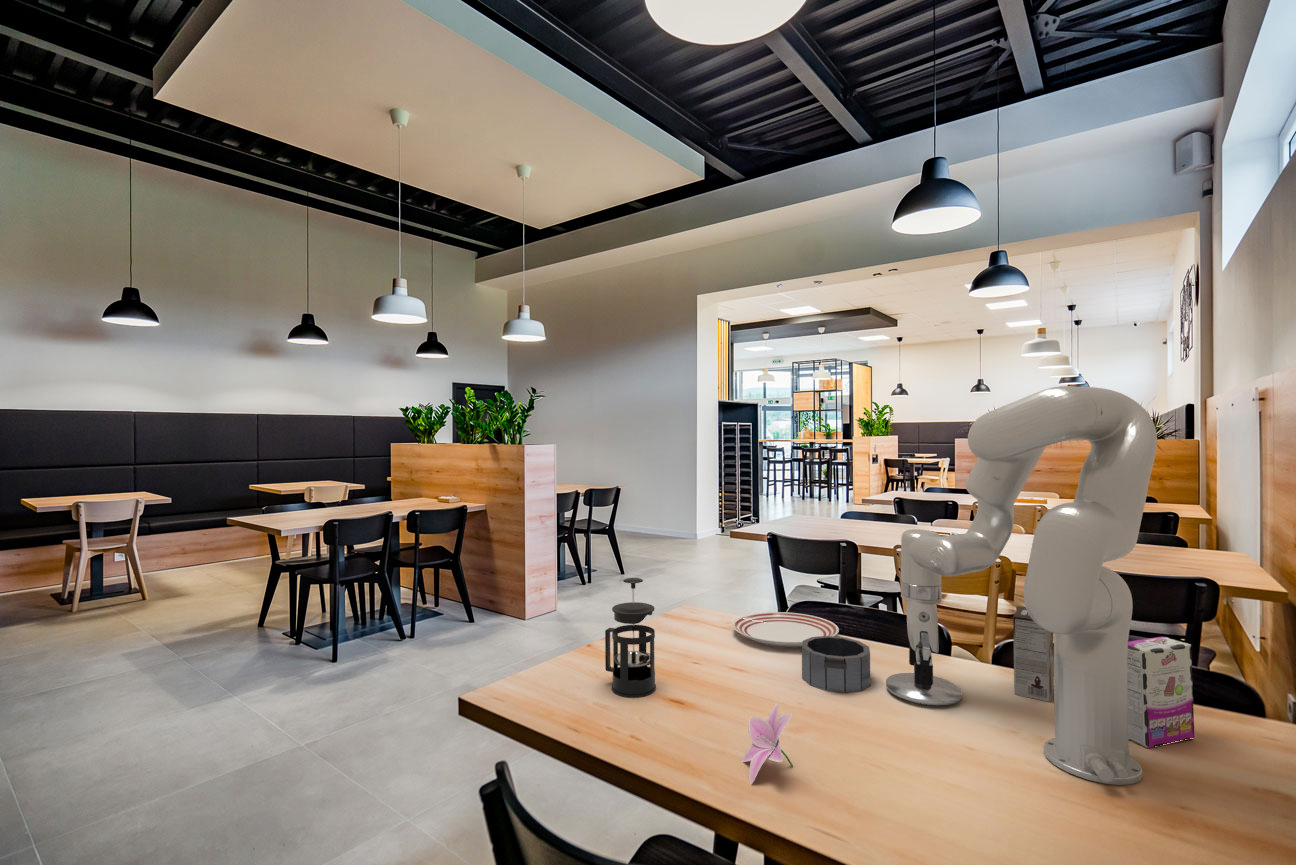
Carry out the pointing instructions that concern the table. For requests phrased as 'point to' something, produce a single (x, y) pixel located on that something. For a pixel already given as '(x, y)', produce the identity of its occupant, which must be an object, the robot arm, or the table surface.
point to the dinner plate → (783, 628)
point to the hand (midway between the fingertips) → (920, 674)
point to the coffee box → (1032, 658)
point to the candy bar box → (1159, 691)
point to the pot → (836, 664)
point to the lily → (765, 740)
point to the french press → (631, 661)
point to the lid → (923, 689)
